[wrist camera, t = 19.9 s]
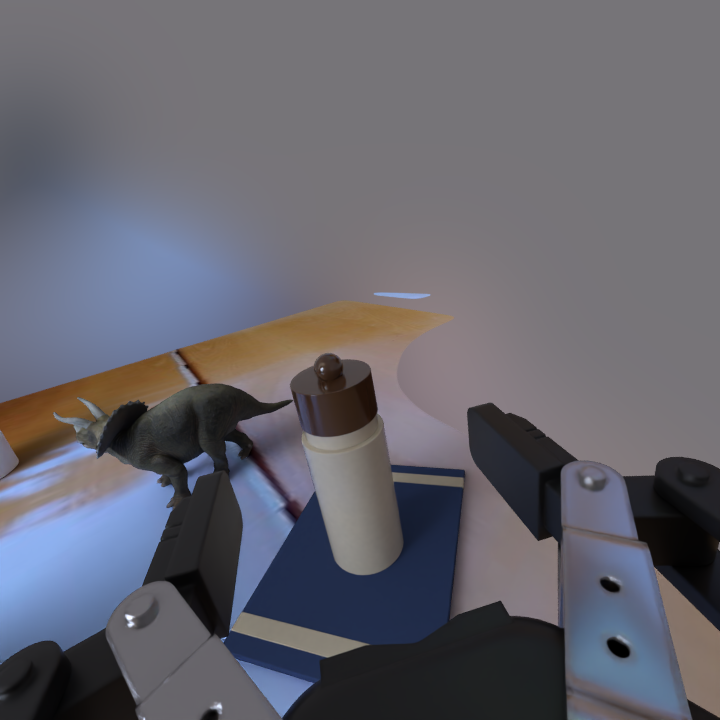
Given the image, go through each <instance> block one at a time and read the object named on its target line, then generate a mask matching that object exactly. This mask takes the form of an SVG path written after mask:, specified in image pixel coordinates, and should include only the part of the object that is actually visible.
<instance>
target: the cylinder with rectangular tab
mask: <svg viewBox="0 0 720 720" xmlns="http://www.w3.org/2000/svg"><path fill="white" fill-rule="evenodd" d="M18 463H19V460H18V458H17V456H16V455H15V453H14V451H13V450H12V448H11V446H10V445H9V443H8V442H7V440H6V438H5V437H4V435H3V433H2V432H1V430H0V479H1V478H3V477H4V476H6V475H7V474H8V473H10V472H11V471H12V470H13V469H14V468H15V467H16V466H17V465H18Z"/></svg>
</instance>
